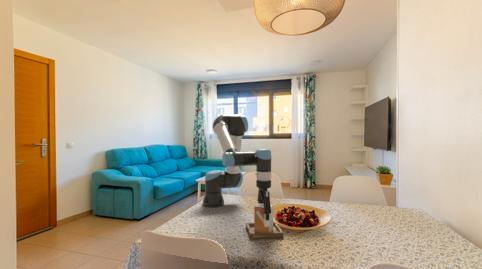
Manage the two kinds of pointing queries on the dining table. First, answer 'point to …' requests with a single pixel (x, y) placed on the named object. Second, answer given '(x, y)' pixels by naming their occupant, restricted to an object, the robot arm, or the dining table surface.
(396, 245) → the dining table surface
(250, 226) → the tray
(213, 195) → the robot arm
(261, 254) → the dining table surface
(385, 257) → the dining table surface
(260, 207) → the small box
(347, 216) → the dining table surface
